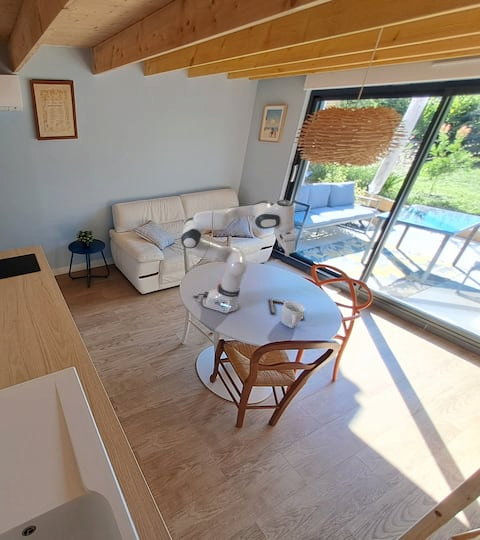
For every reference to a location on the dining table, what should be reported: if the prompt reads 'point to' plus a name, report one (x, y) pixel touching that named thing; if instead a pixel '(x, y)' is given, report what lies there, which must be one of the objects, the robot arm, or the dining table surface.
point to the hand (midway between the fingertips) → (283, 250)
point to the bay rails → (273, 305)
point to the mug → (292, 313)
